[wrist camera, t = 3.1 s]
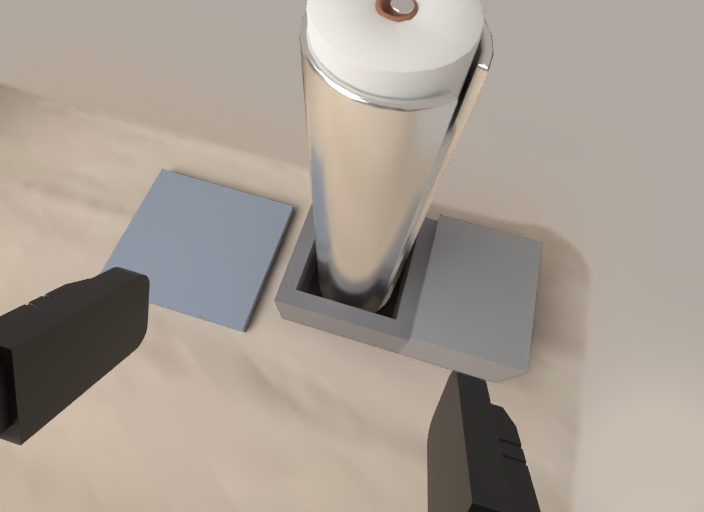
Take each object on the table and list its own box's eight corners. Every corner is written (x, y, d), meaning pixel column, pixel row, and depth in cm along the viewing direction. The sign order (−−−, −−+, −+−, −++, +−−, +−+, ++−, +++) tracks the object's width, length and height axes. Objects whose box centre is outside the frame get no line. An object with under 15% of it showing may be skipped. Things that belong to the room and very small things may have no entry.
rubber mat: (99, 287, 34) (94, 284, 33) (165, 173, 39) (162, 169, 38) (244, 332, 33) (242, 329, 32) (294, 210, 38) (293, 206, 37)
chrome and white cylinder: (331, 327, 34) (332, 102, 11) (310, 258, 36) (273, -46, 13) (404, 304, 35) (545, 56, 12) (378, 239, 37) (455, -73, 14)
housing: (281, 318, 34) (272, 296, 28) (319, 217, 38) (317, 181, 32) (494, 382, 32) (527, 372, 27) (510, 271, 36) (542, 243, 31)
